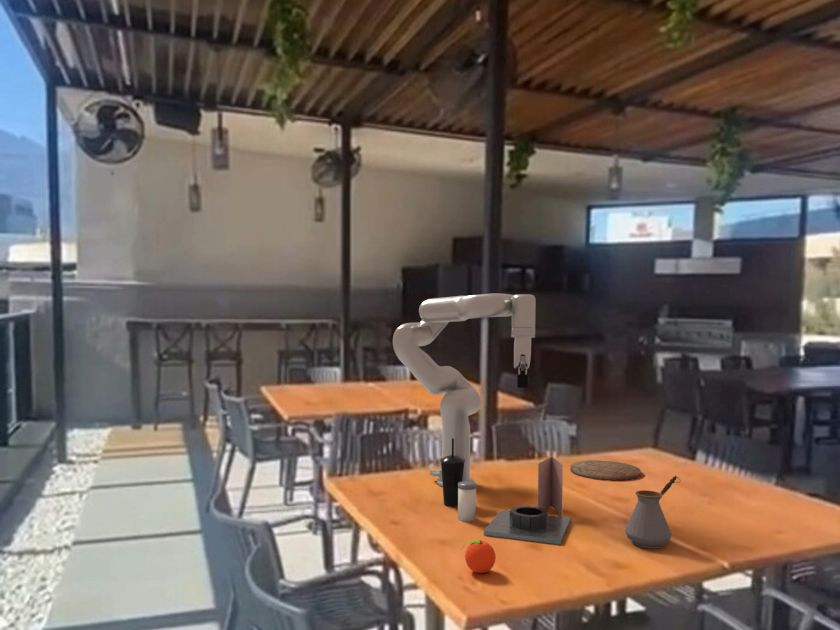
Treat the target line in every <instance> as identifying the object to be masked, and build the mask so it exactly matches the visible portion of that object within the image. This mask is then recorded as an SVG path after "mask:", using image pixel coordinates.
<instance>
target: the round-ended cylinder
mask: <svg viewBox="0 0 840 630" xmlns="http://www.w3.org/2000/svg"><path fill="white" fill-rule="evenodd" d="M476 500H477V483H476V482H475V481H474V482H470V481H463V482H459V483H458V506H457V520H458V521H459V522H465V523H466V522H468V523H469V522H475V520H476V519H477V518H476V513H477V512H476V511H477V510H476V509H477V501H476Z"/></svg>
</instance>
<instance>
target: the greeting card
mask: <svg viewBox="0 0 840 630" xmlns="http://www.w3.org/2000/svg"><path fill="white" fill-rule="evenodd" d="M537 465H538V467H537V468H538V470H537V471H538V474H537V475H538V477H537V480H538V481H537V507H539V508H543V509H545V510H546V511H547V509H549V508H550V507H551V508H552V507H553V508H554V509H555V510H554V509H553V508H552V509H553V510H554V511H555V512H556V513H557V514H558V516H559V517H563V485H564V484H563V479H564V477H563V475H564V474H563V473H564V472H563V471H564V465H563V464H562V463H561V462H560V461H558V460H557V459H556V458H554V456H550V457H548V458H547V459H545V460H543V461H541V462H538V464H537Z"/></svg>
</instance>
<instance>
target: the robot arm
mask: <svg viewBox="0 0 840 630" xmlns="http://www.w3.org/2000/svg"><path fill="white" fill-rule="evenodd" d="M536 301H537V300H536V297H535V295H533V294H526V293H525V294H522V293H521V294H519V293H518V294H509V293H499V292H498V293H495V292H494V293H482V294H472V295H457V296H456V295H455V296H446V297H445V296H444V297H433V298H428V299H426V300H424V301H422V302H421V304H420V305H419V306H418V307H419V309H418V314H419V317H420V318H421V320H420V322H407V323H403V324H401V325H400V326H398V327H396V329H395V331H394V333H393V336H392V346H393V347H392V348H393V351H394V353H395V355H396V357H397V359H398V360H399V361H400V362H401V363H402V365H404V366H405V367H406V368H407V370H409V372H410V373H411V374H412V375H413V377H414V378H415V379H416V380H417V381H418V382H419V383H420V384H421V386H423V388H424V389H425V390H426V391H427V392H428V393H429V394H431V395H434V396H440V395H443V396H442V398H441V401H440V404H439V407H440V408H439V412H440V417H441V430H442V431H441V438H442V440H441V458H443V457H445V456H449V455H452V438H453V439H454V455H456V456H459V457H461V458H463V459H465V463H464V470H463V480H462V482H463V481H470V482H475V479H473V478H471V424H470V420H469V416H472V415H474V414H477V412H478V411H479V410H480V408H481V406H482V400H481V398H482V397H481V396H480V394H479V392H478V391H477V389H476V388H474V386H473V385H472V384H471V383H470V382H469V380H467V379H466V378H465V376H463V374H462V373H461V372H460V371H458V370H457V369H456V368H454V367H452V366H450V365H444V366H440V365H438V364H437V362H435V361H434V360H433V358H432V357H431V356H430V355H429V354H428V353H427V352H425V351H424V350H422V348H421V347H424V346H427V345H430V344H431V343H432V342H433V341H434V340H435V339H436V338H437V337H438V336H439V334H440V333H441V332H442V331H443V330H444V329H445V328H446V326H447V325H448V324H449V323H450V322H451V323H453V322H465V321H467V320H470V319H479V318H480V319H481V318H496V317H497V318H499V317H501V318H503V317H504V318H506V317H511V335H510V336H511V338H514V343H513V368H514V369H516V368H518V371H517V380H516V381H517V382H516V383H517V384H516V385H517V388H518V389H527V388H528V385H529V380H528V379H529V373H528V369H529V368H530V364H531V358H532V357H531V356H532V339H533V338H536V303H537V302H536ZM429 472H430V475H431V476H432V477H438V478H437V479H436V484H437V485H438V486H441V487H443V484H442V470H441V468H439V469H435V468H430V471H429Z"/></svg>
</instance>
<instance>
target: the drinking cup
mask: <svg viewBox="0 0 840 630" xmlns="http://www.w3.org/2000/svg"><path fill="white" fill-rule="evenodd" d="M439 462H440V469H441V470H442V484H443V486H442V496H443V505H444V506H446V507H450V508H451V507H453V508H454V507H456V508H457V507H458V483H459V482H462V480H463V470H464V463H465V459H463V458H461V457H459V456H456V455H454V439H453V438H452V455H449V456H445V457H443V458H442V457H441V458H440V459H439Z"/></svg>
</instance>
